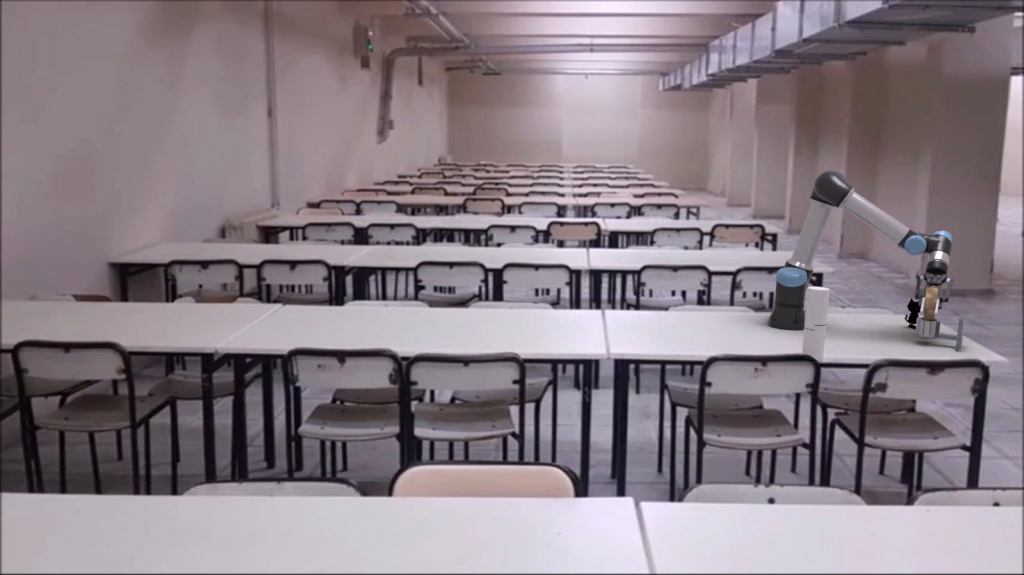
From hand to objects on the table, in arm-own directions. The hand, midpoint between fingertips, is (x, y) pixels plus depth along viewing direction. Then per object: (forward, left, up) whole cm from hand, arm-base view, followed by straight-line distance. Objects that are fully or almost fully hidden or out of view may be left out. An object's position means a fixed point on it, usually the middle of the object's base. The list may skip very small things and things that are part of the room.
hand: (928, 314), depth 341 cm
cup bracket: (+4, +4, -12) cm, 13 cm away
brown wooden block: (0, +4, -7) cm, 8 cm away
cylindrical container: (-32, -47, -12) cm, 58 cm away
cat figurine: (-8, +33, -12) cm, 36 cm away
